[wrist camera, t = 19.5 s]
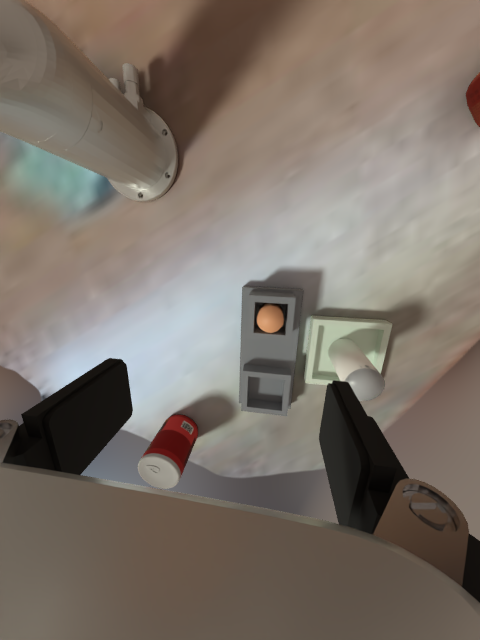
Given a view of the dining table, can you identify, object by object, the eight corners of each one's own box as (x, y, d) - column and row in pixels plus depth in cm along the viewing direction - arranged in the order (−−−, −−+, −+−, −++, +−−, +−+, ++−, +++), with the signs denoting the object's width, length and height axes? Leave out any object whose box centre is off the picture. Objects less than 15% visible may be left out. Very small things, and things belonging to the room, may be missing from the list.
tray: (311, 315, 39) (313, 319, 37) (385, 320, 37) (392, 324, 35) (303, 376, 42) (305, 383, 40) (371, 382, 41) (376, 390, 39)
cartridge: (329, 337, 39) (346, 367, 29) (360, 339, 38) (388, 369, 29) (326, 363, 40) (341, 399, 31) (356, 365, 39) (380, 402, 30)
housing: (243, 286, 39) (238, 291, 34) (302, 288, 38) (306, 294, 33) (240, 398, 46) (235, 417, 41) (289, 404, 45) (291, 424, 39)
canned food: (163, 411, 50) (134, 453, 40) (198, 415, 49) (177, 459, 38) (166, 439, 52) (140, 485, 42) (200, 443, 51) (181, 492, 41)
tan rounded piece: (259, 300, 37) (257, 306, 33) (283, 302, 37) (284, 308, 33) (258, 323, 38) (256, 331, 35) (281, 325, 38) (282, 333, 34)
